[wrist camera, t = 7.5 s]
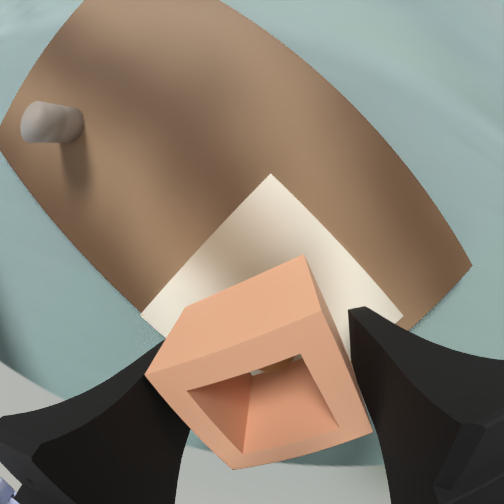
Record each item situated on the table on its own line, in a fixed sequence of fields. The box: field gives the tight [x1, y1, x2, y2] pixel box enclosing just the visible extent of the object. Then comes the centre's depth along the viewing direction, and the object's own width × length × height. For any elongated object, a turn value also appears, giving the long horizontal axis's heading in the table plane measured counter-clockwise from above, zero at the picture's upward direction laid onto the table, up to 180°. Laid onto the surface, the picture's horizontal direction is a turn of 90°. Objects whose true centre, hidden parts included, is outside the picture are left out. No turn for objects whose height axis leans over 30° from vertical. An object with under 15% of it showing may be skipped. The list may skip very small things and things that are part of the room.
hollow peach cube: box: [145, 254, 373, 470], centre depth 9 cm, size 5×5×4 cm
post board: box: [0, 0, 473, 376], centre depth 10 cm, size 12×22×4 cm, turn 46°
